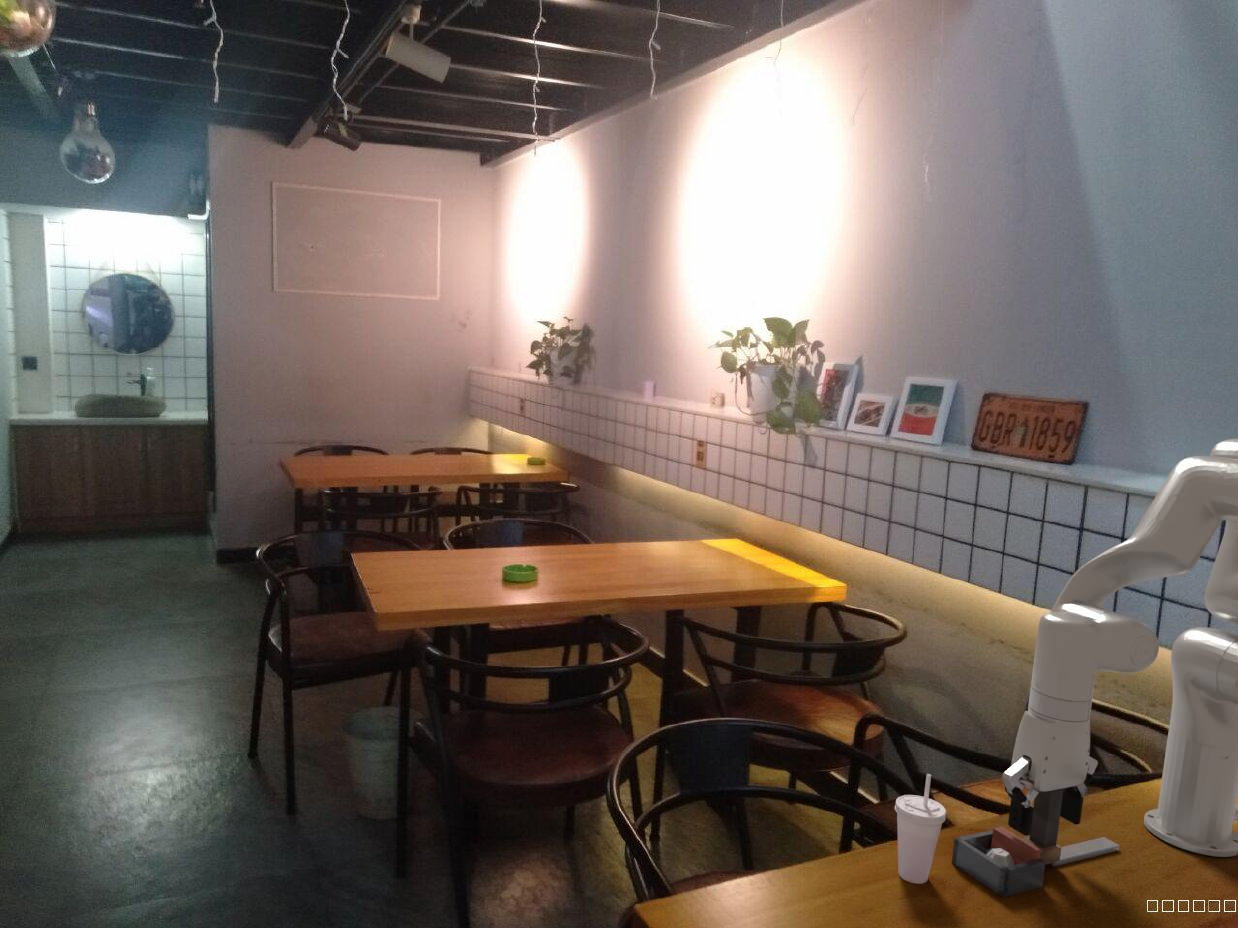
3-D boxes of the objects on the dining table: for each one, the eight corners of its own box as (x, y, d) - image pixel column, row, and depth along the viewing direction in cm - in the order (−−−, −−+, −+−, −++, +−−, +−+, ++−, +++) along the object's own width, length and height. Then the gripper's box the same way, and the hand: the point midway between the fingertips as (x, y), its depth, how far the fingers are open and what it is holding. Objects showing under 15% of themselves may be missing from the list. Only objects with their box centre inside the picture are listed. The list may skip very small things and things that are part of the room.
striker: (1029, 842, 129) (1037, 775, 128) (1068, 866, 124) (1077, 795, 123) (990, 851, 126) (998, 782, 125) (1029, 876, 120) (1038, 803, 119)
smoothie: (941, 893, 117) (954, 788, 115) (889, 884, 118) (901, 780, 116) (934, 867, 123) (946, 767, 121) (885, 858, 124) (896, 760, 123)
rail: (1103, 841, 133) (1104, 836, 133) (1118, 850, 131) (1119, 844, 131) (1038, 857, 127) (1039, 852, 127) (1053, 866, 125) (1054, 860, 125)
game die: (977, 869, 123) (980, 848, 123) (995, 863, 125) (998, 842, 125) (1000, 882, 120) (1003, 861, 120) (1018, 876, 122) (1021, 855, 122)
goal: (990, 853, 128) (993, 829, 127) (1042, 886, 120) (1045, 861, 120) (951, 862, 124) (954, 837, 124) (1002, 897, 117) (1005, 871, 116)
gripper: (1078, 689, 131) (1063, 803, 132) (991, 700, 123) (976, 821, 125) (1127, 708, 124) (1110, 828, 126) (1038, 721, 116) (1022, 849, 118)
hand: (1044, 825), depth 125 cm, fingers open, 9 cm apart
